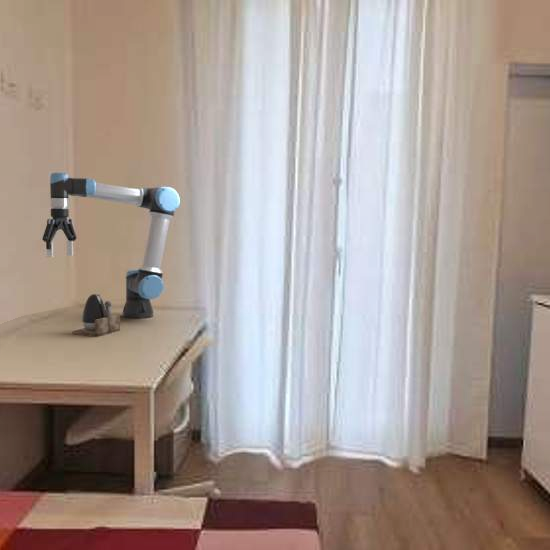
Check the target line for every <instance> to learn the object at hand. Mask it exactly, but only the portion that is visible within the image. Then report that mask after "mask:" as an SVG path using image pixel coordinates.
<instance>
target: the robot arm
mask: <svg viewBox="0 0 550 550" xmlns="http://www.w3.org/2000/svg"><path fill="white" fill-rule="evenodd" d="M49 177H50V179H49V188H50V207H51V208H50V217H51V218H52V219H51V218H48V219H47V220H46V225H45V230H44V232H43V236H42V241H43V242H45V247H46V257H48V258H54V242H53V240H54V237H55V236H56V234H57V232H58V231H59V230H62V232H63V234H64V235H65V237H66V239H67V240H66V256H74V241H76V240H77V235H76V232H75V231H76V230H75V228H74V225H73V220H72V218H68V217H69V216H70V215H69V212H70V211H69V196H71V197H81V198H89V199H97V200H103V201H111V202H116V203H125V204H131V205H135V206H136V207H137V208H143V209H147V210H149V212H148V213H149V214H150V216H151V219H150V224H149V229H148V236H147V240H146V246H145V251H144V255H143V256H144V257H143V261H142V265H141V266H140V267H138V269H136V270H135V269H133V270H131V269H130V270H128V271H126V276H125V296H126V297H125V303H124V306H123V310H122V317H123V318H127V319H128V318H129V319H146V318H151V317H154V309H153V306H152V302H151V300H154V299H157V298H158V297H160V295H162V293H163V291H164V287H165V286H164V282H163V274H164V272H163V271H162V269H161V268H162V262H163V257H164V251H165V246H166V240H167V236H168V230H169V226H170V220H172V219H173V218H174V215H175V211H176V210H177V209H178V207H179V206H180V203H181V202H180V199H181V198H180V196H179V193H178V192H177V190H176V189H174V188H173V187H169V186H161V187H150V188H149V187H141V186H140V187H138V188H132V187H126V186H121V185H120V186H119V185H113V184H106V183H101V182H96V180H95V179H93V178H80V177H78V178H77V177H75V178H73V177H69V175H68V173H66V172H51V174H50V176H49Z"/></svg>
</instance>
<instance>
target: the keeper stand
mask: <svg viewBox="0 0 550 550" xmlns="http://www.w3.org/2000/svg"><path fill="white" fill-rule="evenodd" d="M104 307H105V311H106V317H104V318H100V319H96V320H95V330H88V329H86V328H85V327H83V328H79V329H75V330H72V331H71V335H77V334H81V335H80V336H87V335H91V336H90V337H97V336H98V337H101V336H106V335H110V334H112V332H113V333H116V331H117V332H120V331H121V314H113V315H111V307H112V302H111V301H110V300H106V301H105V302H104ZM109 333H110V334H109ZM105 334H106V335H105Z"/></svg>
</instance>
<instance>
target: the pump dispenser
mask: <svg viewBox="0 0 550 550" xmlns="http://www.w3.org/2000/svg"><path fill="white" fill-rule="evenodd" d="M83 307H84V308H83V310H82V318H81V322H82V324H83V328H86V329H88V330H95V320H96V319H100V318H104V317H106V307H105V302H104V301H103V299H102V298H101V295H100V294H95V293H92V294H90V295H89V296H88V297H87V299H86V301H85V304H84V306H83Z"/></svg>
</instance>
